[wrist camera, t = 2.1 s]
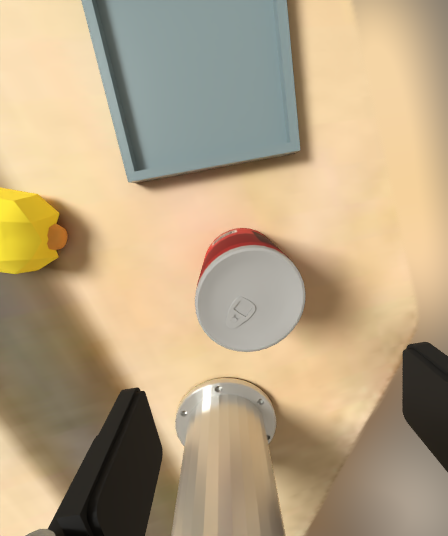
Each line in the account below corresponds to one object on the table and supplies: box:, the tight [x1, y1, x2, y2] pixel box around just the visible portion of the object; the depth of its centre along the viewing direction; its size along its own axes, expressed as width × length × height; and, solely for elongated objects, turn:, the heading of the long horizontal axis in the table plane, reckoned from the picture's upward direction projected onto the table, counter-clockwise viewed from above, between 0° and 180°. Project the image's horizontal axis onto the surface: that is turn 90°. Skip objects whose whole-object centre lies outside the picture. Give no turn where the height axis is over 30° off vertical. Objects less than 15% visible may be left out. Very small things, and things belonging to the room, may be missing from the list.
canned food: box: [195, 228, 305, 352], centre depth 24 cm, size 8×8×11 cm
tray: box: [81, 0, 300, 183], centre depth 23 cm, size 16×16×2 cm
